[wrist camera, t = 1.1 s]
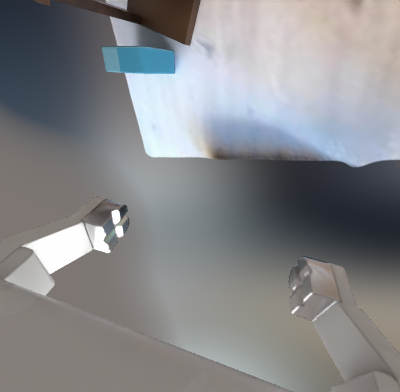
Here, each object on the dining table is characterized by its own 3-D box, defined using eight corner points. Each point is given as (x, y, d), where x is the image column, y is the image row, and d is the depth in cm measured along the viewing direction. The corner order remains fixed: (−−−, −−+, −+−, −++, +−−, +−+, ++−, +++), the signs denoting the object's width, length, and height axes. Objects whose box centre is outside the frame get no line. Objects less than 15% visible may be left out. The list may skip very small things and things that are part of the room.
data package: (138, 71, 54) (102, 71, 44) (136, 51, 51) (97, 46, 42) (177, 73, 50) (146, 73, 40) (176, 50, 47) (143, 45, 38)
